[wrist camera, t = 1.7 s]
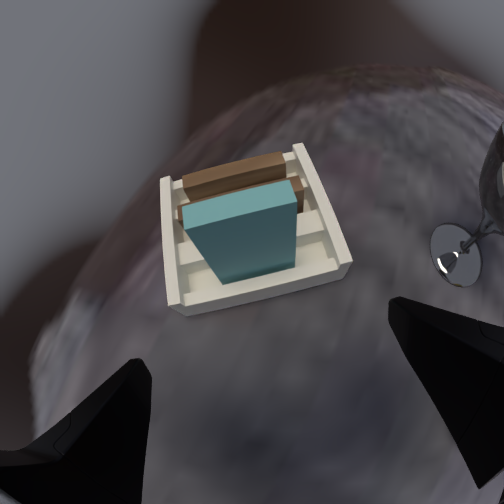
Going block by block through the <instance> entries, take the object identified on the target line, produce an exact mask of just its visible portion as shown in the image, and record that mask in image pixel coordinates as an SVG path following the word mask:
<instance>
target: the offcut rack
mask: <svg viewBox="0 0 504 504" xmlns="http://www.w3.org/2000/svg"><path fill="white" fill-rule="evenodd" d="M282 155H283V157H284V159H285V162H286V178H288V177H292V176H297V175H299V177H300V180H301V182H302V185H303V187H304V207H303V213H299V214H297V232H296V258H295V268H291V269H287V270H283V271H279V272H275V273H271V274H267V275H263V276H259V277H255V278H251V279H247V280H242V281H238V282H234V283H230V284H226V285H222V283H221V282H220V280H219V279H218V278H217V276H216V275H215V273H214V272H213V271H212V269H211V268H210V266H209V265H208V264H207V262H206V261H205V259H204V258H203V256H202V255H201V254H200V252H199V251H198V249H197V248H196V246H195V245H194V244H193V242H192V241H191V239H190V238H189V236H188V235H187V233H186V232H185V230H184V229H183V228H182V226H181V225H180V223H179V222H178V213H177V206H178V205H181V204H185V203H188V202H190V201H189V199H188V197H187V195H186V193H185V192H184V190H183V183H182V179H181V180H178V181H175V182H173V181H172V179H171V177H170V176H167V177H164V178H161V179H160V198H161V224H162V242H163V256H164V269H165V280H166V290H167V299H168V306H169V307H171V308H173V309H174V310H176V311H178V312H179V313H181V314H183V315H184V316H186V317H187V316H192V315H197V314H201V313H206V312H211V311H215V310H220V309H224V308H229V307H233V306H238V305H242V304H246V303H251V302H255V301H259V300H263V299H267V298H271V297H275V296H279V295H283V294H287V293H291V292H295V291H299V290H303V289H307V288H311V287H314V286H318V285H322V284H325V283H329V282H333V281H336V280H340V279H343V278H344V276H345V275H346V273H347V271H348V269H349V267H350V265H351V263H352V261H353V260H352V258H351V255H350V252H349V249H348V247H347V244H346V242H345V239H344V236H343V234H342V231H341V229H340V226H339V224H338V221H337V219H336V216H335V214H334V211H333V209H332V207H331V204H330V202H329V200H328V197H327V195H326V193H325V190H324V188H323V186H322V183H321V181H320V179H319V177H318V175H317V172H316V170H315V168H314V166H313V164H312V162H311V159H310V157H309V155H308V153H307V151H306V149H305V147H304V145H303V143H299V144H293V152H289V153H284V154H282Z"/></svg>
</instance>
